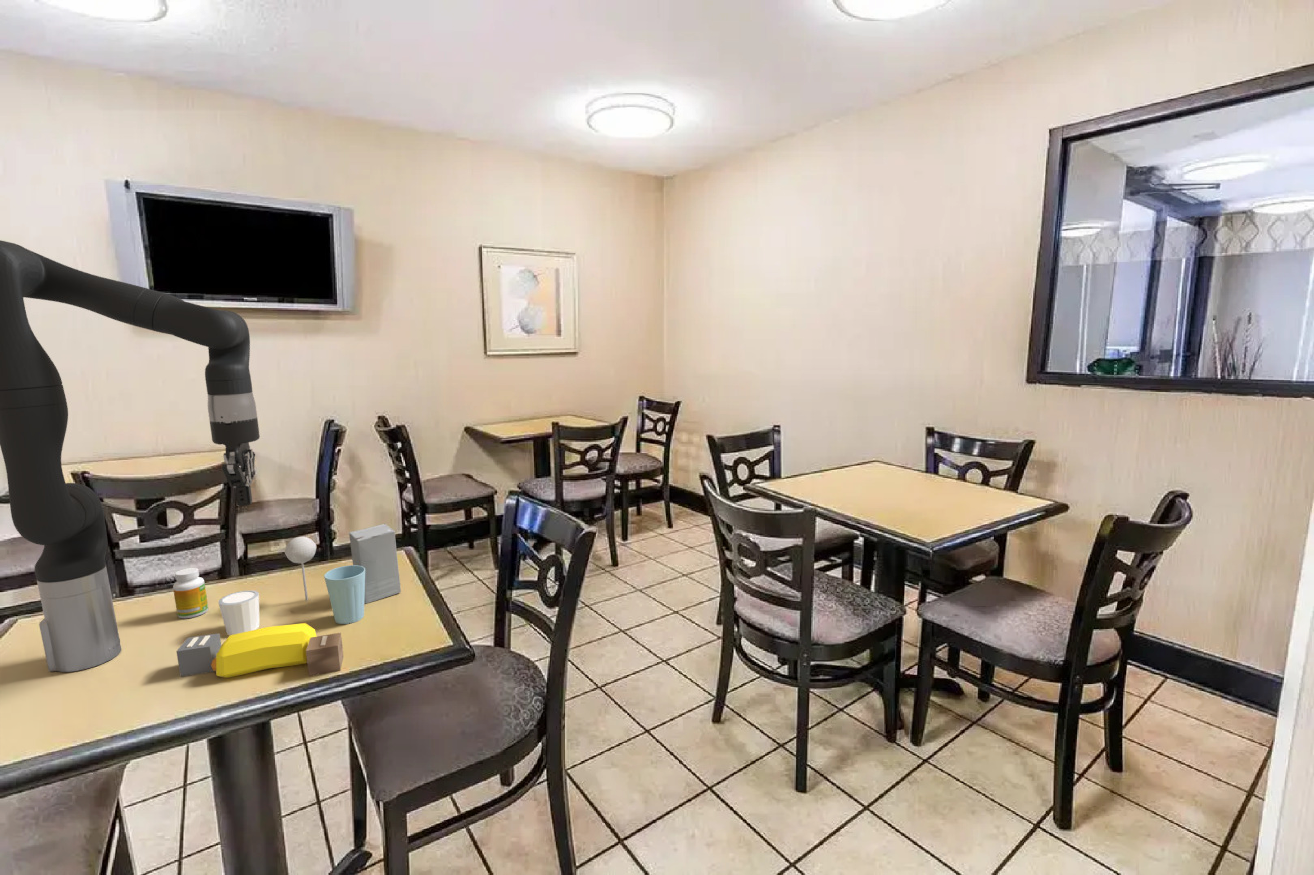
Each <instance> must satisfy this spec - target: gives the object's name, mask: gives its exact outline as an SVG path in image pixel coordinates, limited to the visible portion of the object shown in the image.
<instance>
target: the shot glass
mask: <svg viewBox="0 0 1314 875" xmlns="http://www.w3.org/2000/svg"><path fill="white" fill-rule="evenodd" d="M217 603H218V605H219V610H220V613H221V616H222V620H223V625H224V628H225V631H226V634H227V635H228V636H230V635H234V634H238V633H243V632H247V631H252V630H256V629H259V627H260V593H259V592H258V591H257V590H252V589H251V590H241V591H236V592H233V593H229V594H227V595H225V596H223V597H222V598H220V599H219V600H218V602H217Z"/></svg>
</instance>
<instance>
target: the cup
mask: <svg viewBox="0 0 1314 875" xmlns="http://www.w3.org/2000/svg"><path fill="white" fill-rule="evenodd" d="M323 577H324V582H325V586H326V590H327V593H328V598H329V600H330V606H331V610H332V614H333V618H334V621H335V623H336V624H339V625H348V624H349V623H350V624H354V623H356V622H358V621H360V620H361V619H363V618H364V617H365V603H364V598H365V568H364V567H362V566H358V565H353V564H352V565H344V566H339V567H335V568H332V569H330V570H329V571H327V572H325V573H324V575H323Z"/></svg>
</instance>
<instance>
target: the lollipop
mask: <svg viewBox="0 0 1314 875" xmlns="http://www.w3.org/2000/svg"><path fill="white" fill-rule="evenodd" d="M316 551H317V544H316V543H315V542H314V541H313V539H311V538H310V537H308V536H297V537H294V538H293V539H291V540H290V541H289V542H288V543H287V544H286V547H285V548H284V554H285V556H286V557H287V559H288V560H289V561H291V563H293V564H301V572H302V581H303V589H304V598H305V601H306V602H307V601H309V597H308V589H307V580H306V572H305V563H307V562H309V561H310V560H312V559H313V558H314V556H315V554H316Z"/></svg>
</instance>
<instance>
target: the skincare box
mask: <svg viewBox="0 0 1314 875" xmlns="http://www.w3.org/2000/svg"><path fill="white" fill-rule="evenodd" d="M348 534H349V542H350V551H351V560H352V565H358V566H362V567H364V568H365V598H364V605H365V604H366V605H367V604H370V603H372V602H375V601H379V600H382V599H384V598H388V597H390V596H394V595H397V594H400V593H401V592H402V591H401V590H402V589H401V579H400V572H399V570H400V569H399V561H398V552H397V543H396V531H395V530H394V529H393V528H391V527H390V526H388V525H387V524H386V523H382V524H379V525H374V526H370V527H366V528H363V529H358V530H353V531H350V532H349V533H348Z"/></svg>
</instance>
